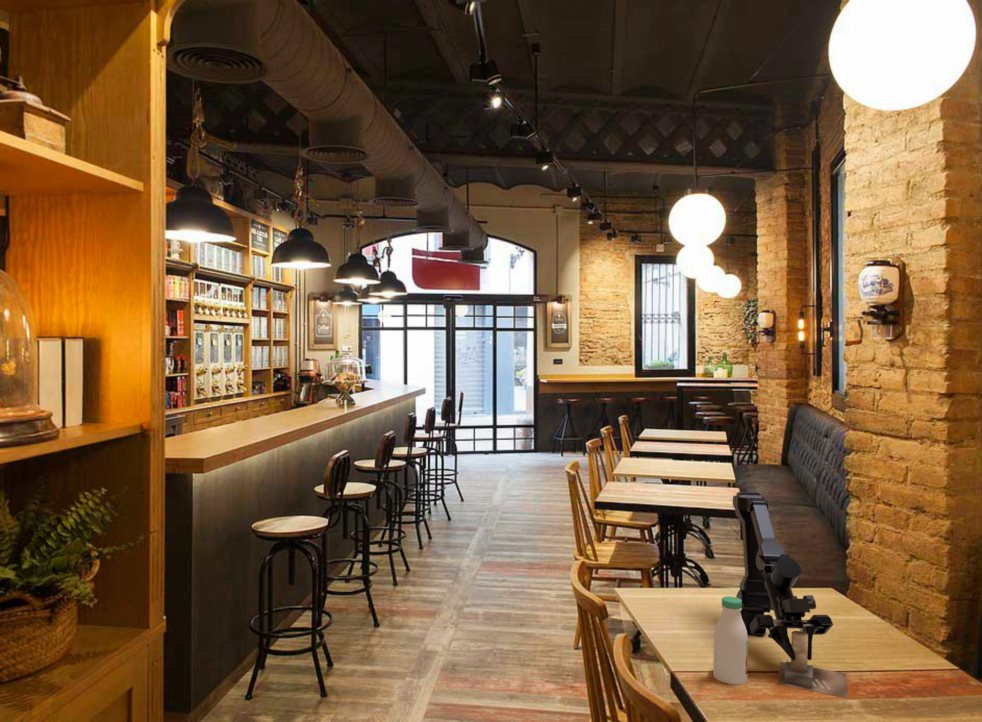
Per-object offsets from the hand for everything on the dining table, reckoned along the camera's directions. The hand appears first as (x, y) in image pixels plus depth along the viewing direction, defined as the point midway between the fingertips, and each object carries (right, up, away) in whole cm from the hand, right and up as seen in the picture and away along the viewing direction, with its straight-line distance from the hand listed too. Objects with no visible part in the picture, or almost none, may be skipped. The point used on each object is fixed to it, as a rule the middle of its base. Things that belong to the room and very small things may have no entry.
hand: (802, 659), depth 170 cm
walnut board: (+3, -7, +2) cm, 8 cm away
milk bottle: (-16, -6, +2) cm, 18 cm away
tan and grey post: (0, -5, +1) cm, 6 cm away
